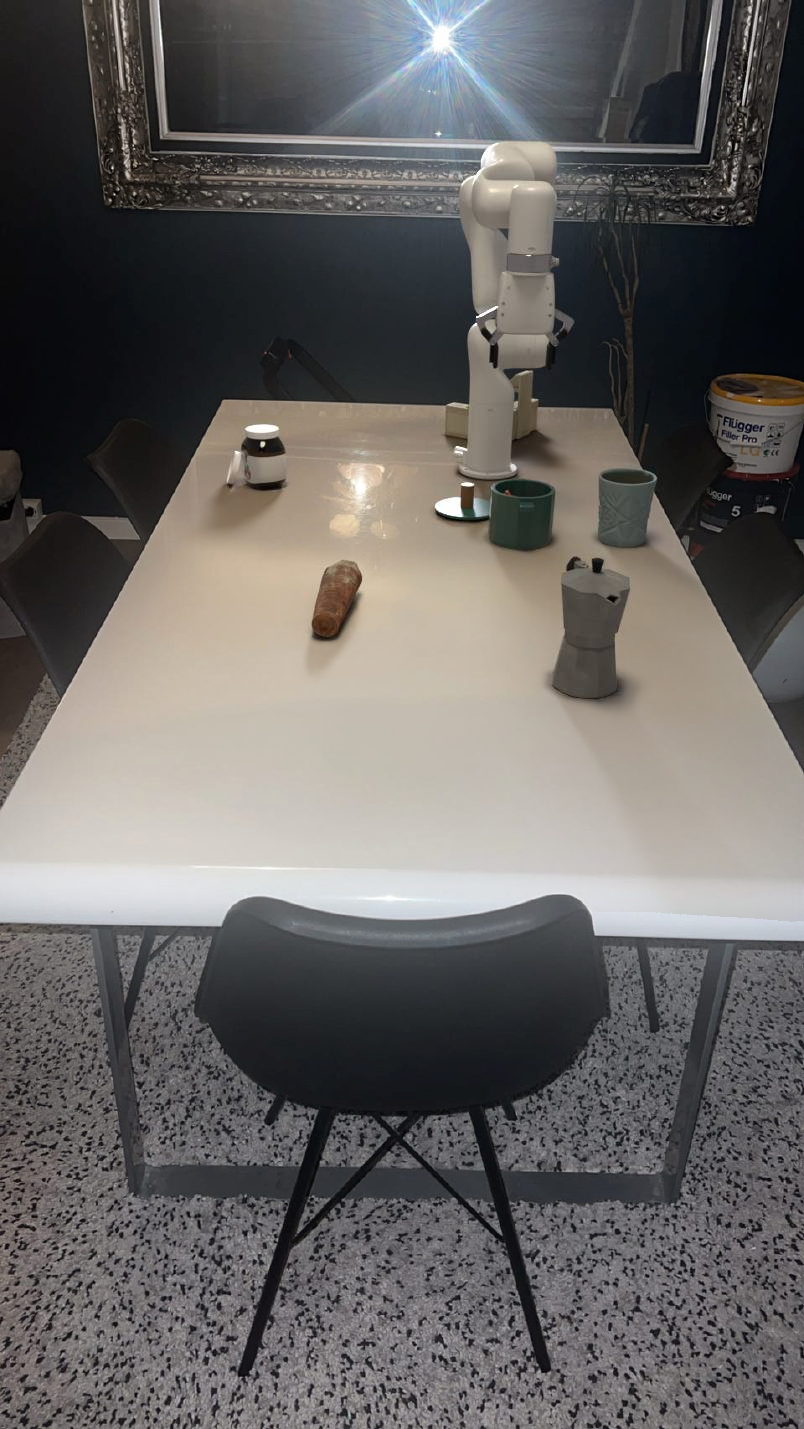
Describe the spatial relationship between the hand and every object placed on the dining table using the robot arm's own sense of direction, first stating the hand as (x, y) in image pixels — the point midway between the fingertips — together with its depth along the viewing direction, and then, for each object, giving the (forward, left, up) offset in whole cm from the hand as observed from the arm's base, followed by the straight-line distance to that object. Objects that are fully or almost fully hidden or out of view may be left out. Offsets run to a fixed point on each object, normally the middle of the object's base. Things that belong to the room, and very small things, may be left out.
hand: (521, 367), depth 187 cm
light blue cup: (+22, +2, -28) cm, 36 cm away
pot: (+7, -9, -28) cm, 30 cm away
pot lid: (-9, -2, -28) cm, 29 cm away
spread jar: (-54, -14, -28) cm, 63 cm away
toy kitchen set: (-37, +54, -28) cm, 71 cm away
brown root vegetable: (+2, -56, -28) cm, 63 cm away
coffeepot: (+42, -53, -28) cm, 73 cm away
